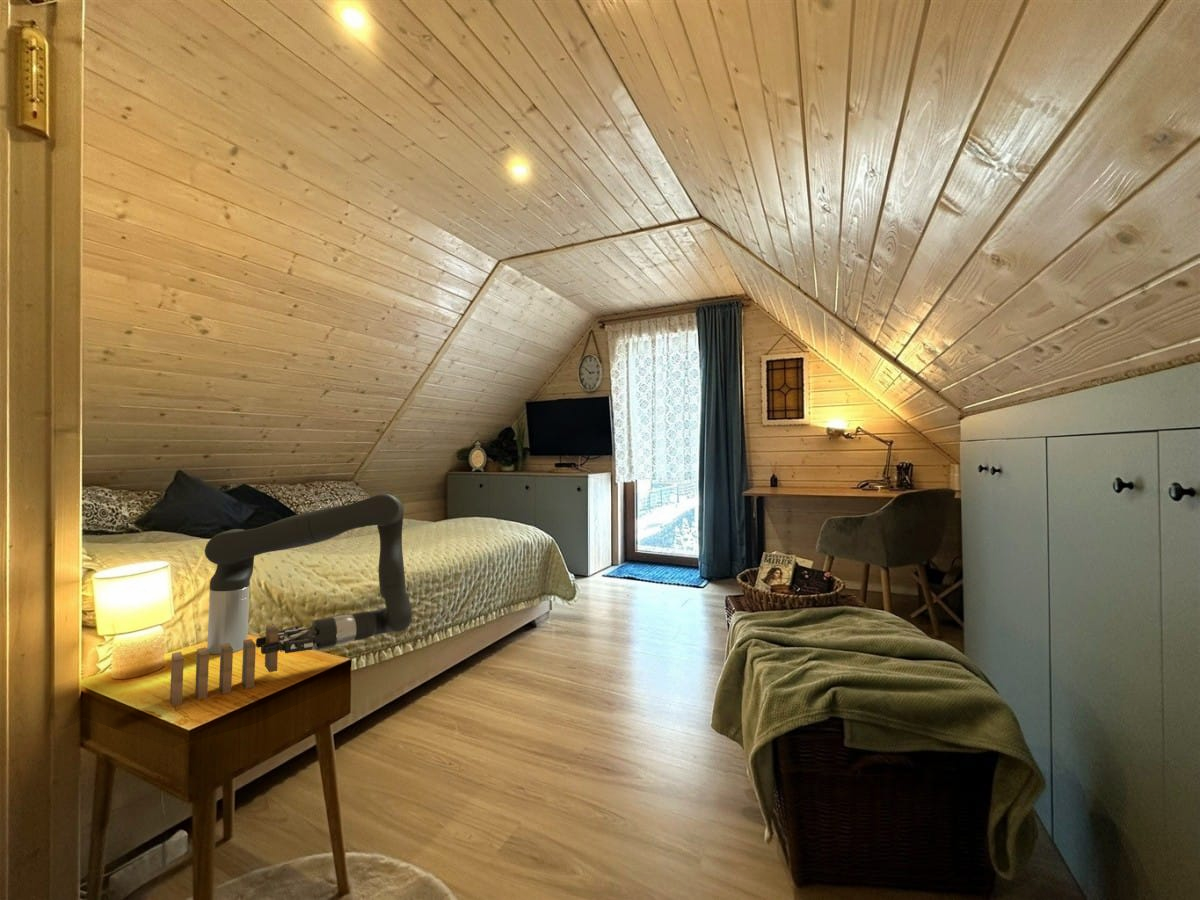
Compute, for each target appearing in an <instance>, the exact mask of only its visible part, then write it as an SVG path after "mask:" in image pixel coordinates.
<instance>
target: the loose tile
mask: <svg viewBox="0 0 1200 900" xmlns="http://www.w3.org/2000/svg"><path fill="white" fill-rule="evenodd" d="M278 631H279V628H278V627H277V626H276V625H275V624H268V625H265V637H266V644H267V643H272V642H277V641H278ZM278 652H279V651H277V652H272V653H267V654H264V668H265V669H267V671H268V673H273V672H277V671H278V655H279V653H278Z"/></svg>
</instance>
